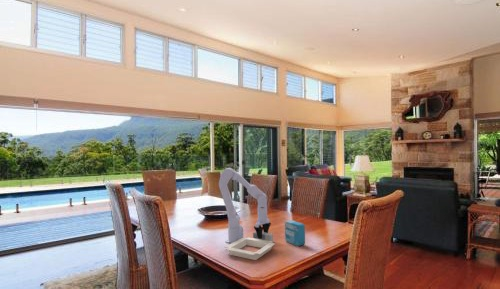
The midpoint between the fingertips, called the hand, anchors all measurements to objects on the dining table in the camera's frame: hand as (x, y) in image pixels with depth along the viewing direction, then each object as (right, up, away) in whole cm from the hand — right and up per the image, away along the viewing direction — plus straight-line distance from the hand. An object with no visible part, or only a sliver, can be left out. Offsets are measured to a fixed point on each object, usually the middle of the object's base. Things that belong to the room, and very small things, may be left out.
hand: (262, 236), depth 171 cm
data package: (+19, -3, -4) cm, 19 cm away
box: (0, -3, 0) cm, 3 cm away
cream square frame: (-7, -3, -17) cm, 18 cm away
